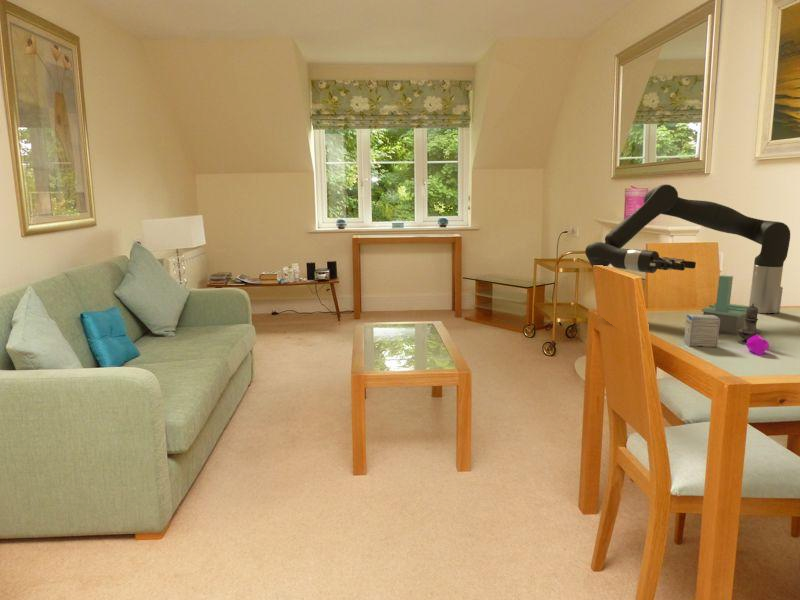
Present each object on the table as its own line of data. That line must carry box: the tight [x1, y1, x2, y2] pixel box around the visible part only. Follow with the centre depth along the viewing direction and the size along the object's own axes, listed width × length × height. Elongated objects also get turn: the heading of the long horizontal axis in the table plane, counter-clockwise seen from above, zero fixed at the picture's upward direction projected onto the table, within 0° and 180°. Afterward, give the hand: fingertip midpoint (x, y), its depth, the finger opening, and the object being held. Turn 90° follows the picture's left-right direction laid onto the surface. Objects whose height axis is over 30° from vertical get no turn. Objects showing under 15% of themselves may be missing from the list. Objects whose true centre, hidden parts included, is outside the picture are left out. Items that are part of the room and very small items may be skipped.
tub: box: [702, 312, 746, 336], centre depth 201 cm, size 16×10×6 cm, turn 134°
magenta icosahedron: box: [745, 334, 771, 356], centre depth 173 cm, size 5×5×5 cm
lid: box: [701, 274, 757, 317], centre depth 199 cm, size 17×11×12 cm, turn 134°
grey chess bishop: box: [737, 304, 762, 346], centre depth 182 cm, size 6×6×12 cm
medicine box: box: [683, 314, 720, 348], centre depth 179 cm, size 8×4×9 cm, turn 84°
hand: (689, 266), depth 201 cm, fingers open, 8 cm apart
